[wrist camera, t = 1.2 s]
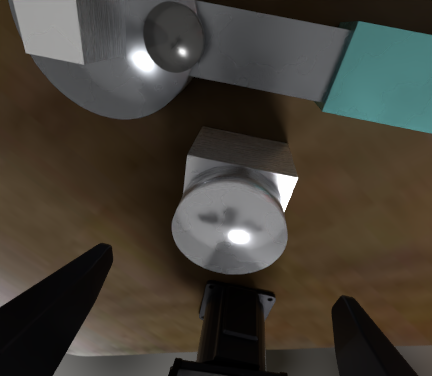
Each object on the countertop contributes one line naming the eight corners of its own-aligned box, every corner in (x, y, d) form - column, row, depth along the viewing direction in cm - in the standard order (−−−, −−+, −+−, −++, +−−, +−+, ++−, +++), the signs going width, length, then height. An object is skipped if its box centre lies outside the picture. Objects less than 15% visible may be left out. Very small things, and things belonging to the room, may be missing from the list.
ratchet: (515, -19, 10) (764, -62, 5) (399, 159, 14) (471, 225, 9) (29, -109, 10) (-169, -229, 5) (65, 91, 15) (-26, 122, 10)
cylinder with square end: (264, 210, 17) (268, 283, 12) (193, 195, 18) (169, 261, 13) (288, 143, 15) (305, 204, 10) (202, 126, 15) (175, 176, 10)
